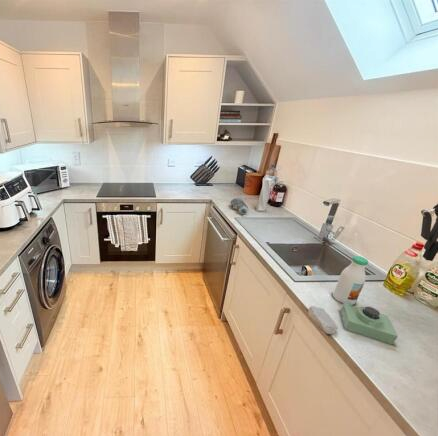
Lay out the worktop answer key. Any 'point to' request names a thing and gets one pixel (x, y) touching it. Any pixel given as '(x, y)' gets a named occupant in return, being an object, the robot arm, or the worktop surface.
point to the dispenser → (368, 324)
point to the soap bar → (322, 320)
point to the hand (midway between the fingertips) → (427, 258)
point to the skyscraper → (264, 195)
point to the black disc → (371, 312)
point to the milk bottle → (351, 281)
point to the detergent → (239, 205)
